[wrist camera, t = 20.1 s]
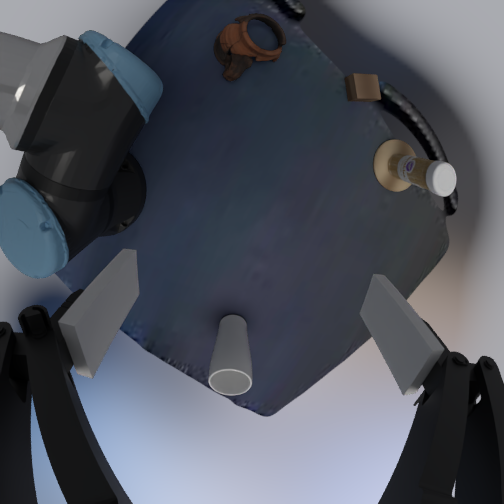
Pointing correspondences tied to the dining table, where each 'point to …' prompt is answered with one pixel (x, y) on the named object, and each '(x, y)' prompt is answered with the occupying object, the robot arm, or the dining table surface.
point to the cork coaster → (382, 161)
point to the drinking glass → (231, 358)
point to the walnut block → (362, 87)
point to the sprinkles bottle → (423, 173)
